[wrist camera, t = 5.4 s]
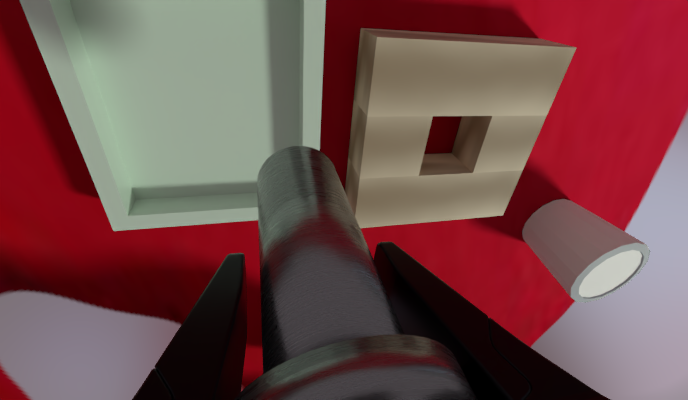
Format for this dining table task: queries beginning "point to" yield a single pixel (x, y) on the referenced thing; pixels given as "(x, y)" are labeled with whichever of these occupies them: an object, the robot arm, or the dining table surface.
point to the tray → (183, 98)
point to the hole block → (445, 100)
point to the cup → (583, 250)
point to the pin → (332, 300)
